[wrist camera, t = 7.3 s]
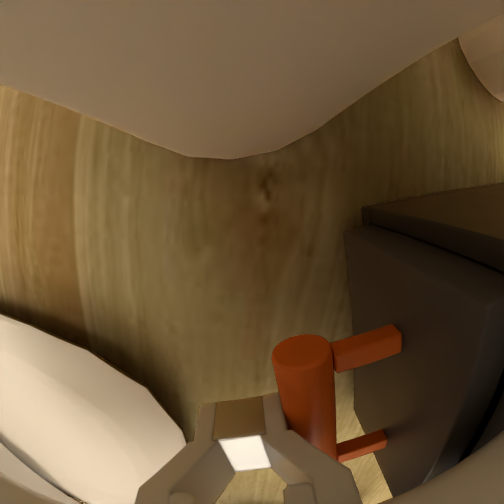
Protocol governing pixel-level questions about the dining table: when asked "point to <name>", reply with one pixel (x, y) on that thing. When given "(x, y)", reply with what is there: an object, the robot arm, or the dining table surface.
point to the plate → (79, 417)
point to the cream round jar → (486, 54)
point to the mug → (220, 62)
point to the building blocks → (29, 477)
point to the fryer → (453, 237)
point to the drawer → (403, 359)
